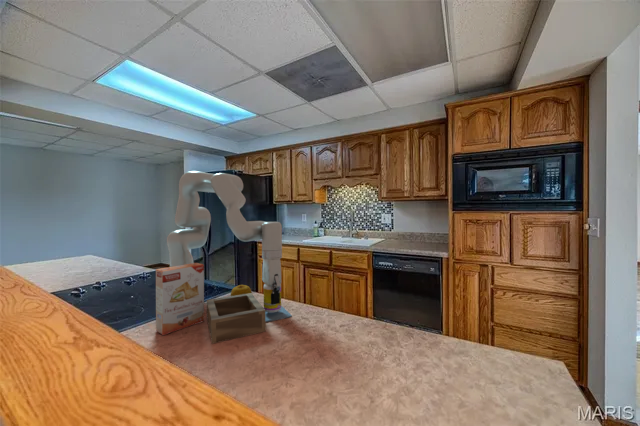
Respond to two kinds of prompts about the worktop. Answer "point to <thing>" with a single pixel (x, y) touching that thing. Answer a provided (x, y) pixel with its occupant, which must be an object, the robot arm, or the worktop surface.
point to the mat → (277, 315)
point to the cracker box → (179, 297)
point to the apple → (240, 290)
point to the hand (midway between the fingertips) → (272, 300)
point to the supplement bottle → (267, 300)
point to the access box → (235, 317)
